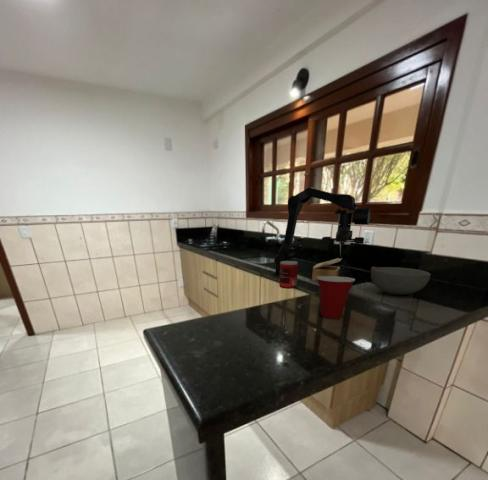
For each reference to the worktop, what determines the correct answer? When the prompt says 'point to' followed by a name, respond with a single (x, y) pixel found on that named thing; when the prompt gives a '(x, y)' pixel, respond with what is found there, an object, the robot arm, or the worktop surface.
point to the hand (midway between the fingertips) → (340, 258)
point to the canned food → (288, 274)
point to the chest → (325, 272)
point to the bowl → (399, 279)
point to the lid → (327, 263)
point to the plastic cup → (333, 294)
